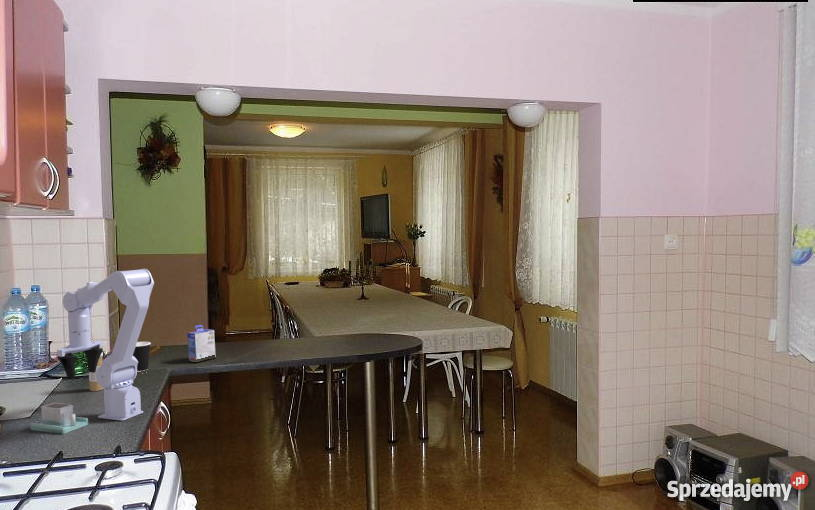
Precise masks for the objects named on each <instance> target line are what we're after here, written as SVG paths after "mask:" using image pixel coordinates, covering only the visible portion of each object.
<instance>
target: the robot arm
mask: <svg viewBox="0 0 815 510" xmlns="http://www.w3.org/2000/svg"><path fill="white" fill-rule="evenodd" d="M154 285H155V281H154V279H153V276H152V274H151V272H150V271H149V269H147V268H141V269H134V270H133V269H131V270H122V271H121V270H117V271H114V272H112V273H110V274H109V276H108V277H106V278H104V279H103V280H101V281H99V282H97V281H96V282H94V281H88V282H87V283H86V285H84V286H83V287H79V288H77V290H75V291H68V292H66V293H65V294H64V295H63V296H62V305H63V308H64V310H65V311H67V318H68V319H67V322H68V324H67V325H68V340H69V342H68V343H69V345H67V346H65V347H63V348H60V349H57V350H56V356H57V360H58V361H59V363H60V364H61V366H62V367H63V369H64V372H65V375H66V378H67V379H71V380H73V379H75V377H76V376H75V375H76V362H77V359H78V356H77V355H74V354H77V353H80V352H84V354H85V357H86V360H87V361H86V362H87V370H88V373H89V372H93V373H94V372H96V367H97V363H98V360H99V357H100V355H101V353H102V352H104V349H103V340H94V341H91V322H90V321H91V319H90V315H91V314H92V308H93V305H94V304H96V303H99V302H100V301H102V300H103V299H104V298H105V297H106V294H107V293H110V292H111V291H113V292H114V294H115V295H116V297H117V299H118V300H119V301H120V303H121V304H123V305H125V306H126V307H125V311H124V314H123V318H122V320H121V323H120V327H119V330H118V333H117V336H116V339H115V341H114V342H115V343H114V346H113V349H112V353H110V354H109V355H107V356H106V357H105V358H104V359H102V364H101V366H100V367H99V368H98V370H97V373H96V379H97V382H98V383H99V385H100V386H101V387H102V388H104V389H103V394H104V395H103V399H104V413H103V414H100V415H98V416H97V418H98V419H104V420H105V419H106V420H112V421H113V420H114V421H125V420H129V419H131V418H133V417H135V416H139V415H141V414H143V413H144V411H143V410H142V404H141V402H142V401H141V392H140V390H139V388H138V387H136V386H133V384H134V380H135V379H136V377H137V375H138V374H137V364H138V361H137V359H136V358H135V357H134V356H133V353H134V350H135V347H136V344H137V342H139V341H138V340H139V337H140V334H141V331H142V328H143V324H144V322H145V319H146V315H147V312H148V309H149V307H150V306H149V305H150V296H151V294H152V291H153V287H154Z"/></svg>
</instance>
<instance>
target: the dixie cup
mask: <svg viewBox="0 0 815 510" xmlns="http://www.w3.org/2000/svg"><path fill="white" fill-rule="evenodd" d="M151 344H152V343H151V342H150V341H137V344H136V347H135V350H134V353H133V356H134V357H135V358H136V359H137V361H138V364H137V372H141V371H145V370H148V371H149V367H150V365H149V364H150V353H151V352H150V351H151V349H150V348H151Z"/></svg>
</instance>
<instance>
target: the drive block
mask: <svg viewBox="0 0 815 510" xmlns="http://www.w3.org/2000/svg"><path fill="white" fill-rule="evenodd" d="M40 408H41V422H42V424H46V425H53V426H61V427H62V426H65V425H68V424H71V420H70V415H71V414H74V405H73V404H71V403H61V402H51V403H49V404H46V405H43V406H42V405H41V407H40Z"/></svg>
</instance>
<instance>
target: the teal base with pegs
mask: <svg viewBox="0 0 815 510" xmlns="http://www.w3.org/2000/svg"><path fill="white" fill-rule="evenodd" d="M70 420H71V424H68V425H65V426H62V427H61V426H53V425H46V424H42V421H40V422H38V423H36V422H30V425H29V426H30V430H32V431H37V432H44V433H51V434H52V433H53V434H60V435H64V434H67V433H70V432H72V431H75V430H77V429H80V428H82V427H86V426H88V425H89V419H88V417H82V416H81V417H79V416H76V413H73V414H71V415H70Z"/></svg>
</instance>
